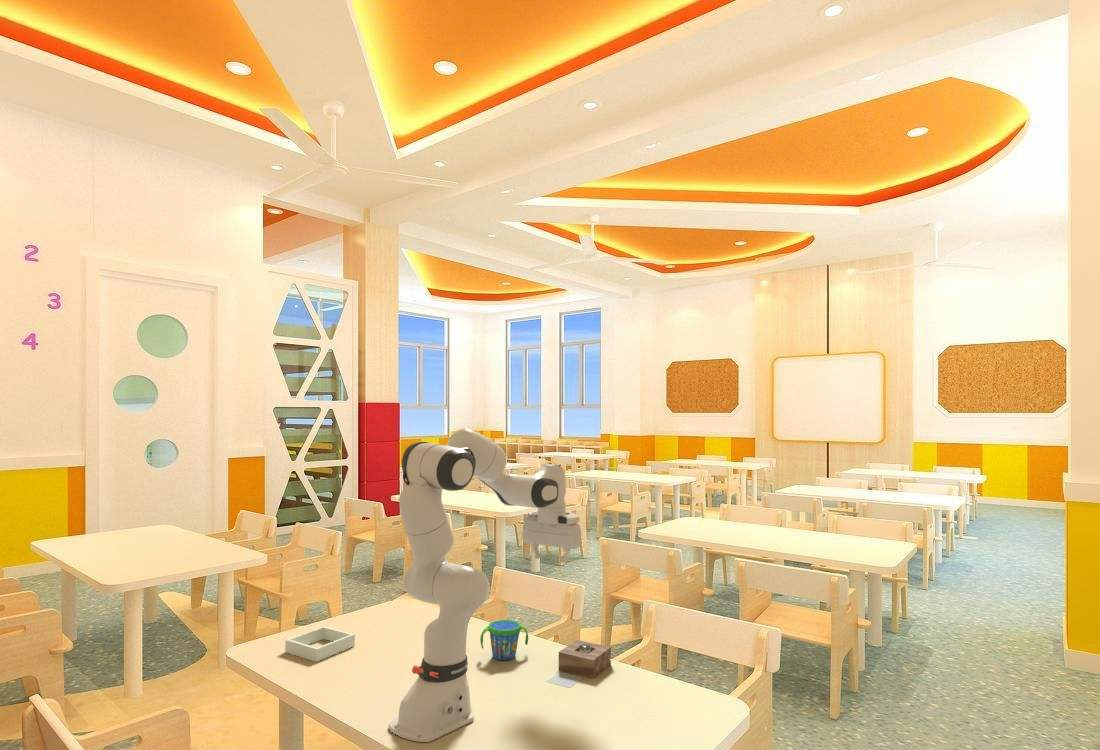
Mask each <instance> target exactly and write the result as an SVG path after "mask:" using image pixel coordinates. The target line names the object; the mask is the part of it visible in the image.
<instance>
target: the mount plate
mask: <svg viewBox="0 0 1100 750" xmlns="http://www.w3.org/2000/svg"><path fill="white" fill-rule="evenodd" d="M581 680H583V676H579V675H575V674H571V673H567V672H563V671H559V672H558V673H556V674H555V675H553V676H551V678H549V679H548V680H546V681H545V682H546V683H549V684H554V685H558V686H560V687H565V688H568V689H571V688H572V687H574V686H575V685H576V684H577V683H578V682H580V681H581Z"/></svg>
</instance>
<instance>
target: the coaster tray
mask: <svg viewBox="0 0 1100 750" xmlns="http://www.w3.org/2000/svg"><path fill="white" fill-rule="evenodd" d="M355 637H356V634H354V633H351V632H347V631H345V630H344V631H343V630H340V629H336V628H333V627H330V626H325V625H324V626H320V627H317V628H315V629H312V630H310V631H306V632H304V633H301V634H298V635H295V636H292V637H289V638H287V639H285V640H284V641H285V642H284V643H285V644H284V646H285V647H284V649H285V650H284V653H287V654H289V653H290V655H293V656H295V655H296V656H295V657H298V656H299V658H301V659H302V658H303V659H305V658H306V660H308V659H309V661H311V660H312V661H311V662H314V661H316V662H315V663H317V661H318V662H320V660H321V661H323V660H326V659H328V658H330V657H332V655H333V656H335V655H337V654H340V653H342V652H344V650H345V651H347V650H349V649H348V648H350V649H352V648H355V645H356V642H355V639H356V638H355ZM325 639H326V641H328V640H330V642H328V643H326V644H323V645H320V646H318V647H316V646H313V645H312V644H314V643H317V642H320V641H322V640H325ZM332 641H333V642H332ZM311 643H312V644H311ZM351 647H352V648H351ZM346 649H347V650H346ZM341 651H342V652H341ZM339 652H340V653H339ZM334 654H335V655H334ZM329 656H330V657H329ZM327 657H328V658H327ZM322 659H323V660H322Z"/></svg>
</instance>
